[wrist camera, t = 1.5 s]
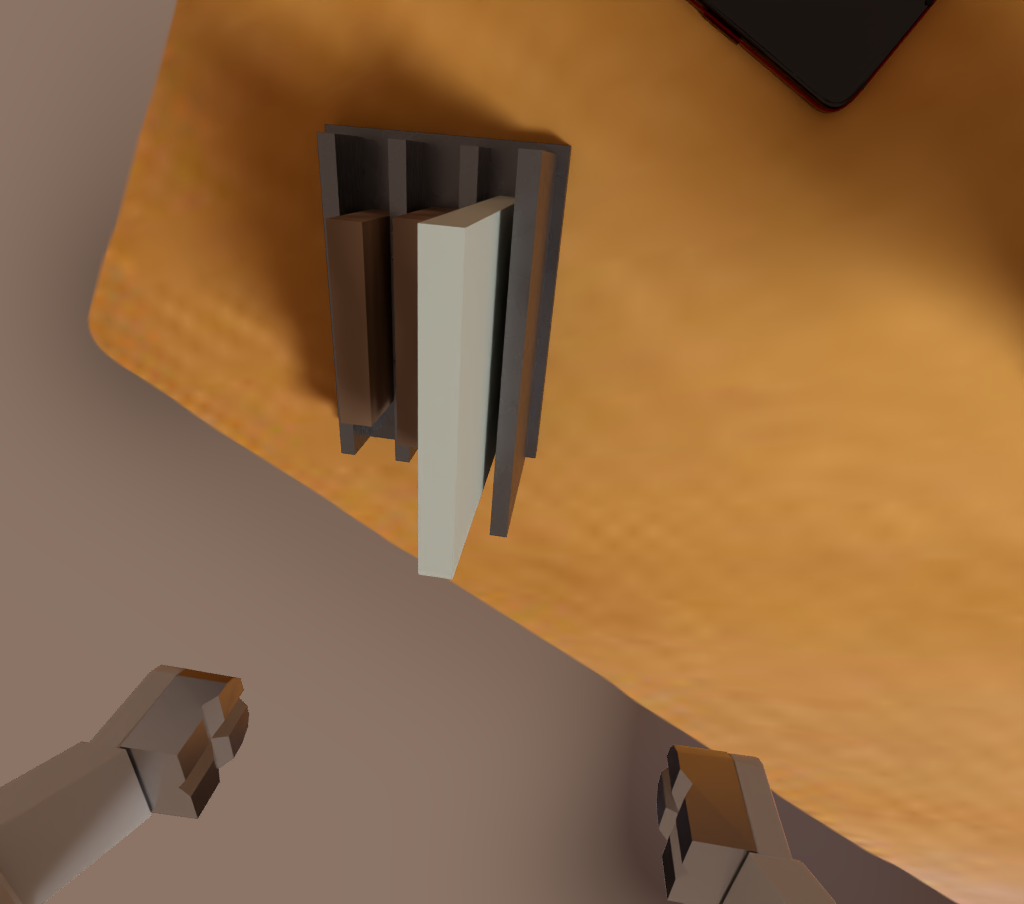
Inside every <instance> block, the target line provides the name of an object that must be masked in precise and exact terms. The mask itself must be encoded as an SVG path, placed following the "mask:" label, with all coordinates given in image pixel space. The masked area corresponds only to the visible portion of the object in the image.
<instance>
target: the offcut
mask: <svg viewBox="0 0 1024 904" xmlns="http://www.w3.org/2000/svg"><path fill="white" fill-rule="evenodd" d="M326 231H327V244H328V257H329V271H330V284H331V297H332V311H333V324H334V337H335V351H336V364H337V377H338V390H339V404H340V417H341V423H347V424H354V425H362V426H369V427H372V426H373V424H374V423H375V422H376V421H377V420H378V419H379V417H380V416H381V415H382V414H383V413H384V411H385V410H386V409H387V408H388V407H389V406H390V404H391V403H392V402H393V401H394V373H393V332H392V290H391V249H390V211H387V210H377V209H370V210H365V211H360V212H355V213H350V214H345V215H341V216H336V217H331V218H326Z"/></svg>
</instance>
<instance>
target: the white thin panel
mask: <svg viewBox="0 0 1024 904" xmlns="http://www.w3.org/2000/svg"><path fill="white" fill-rule="evenodd" d="M514 203H515V197H511V196H497V197H494V198H491V199H488V200H485V201H482V202H479V203H476V204H473V205H470V206H467V207H464V208H461V209H458V210H455V211H452V212H449V213H446V214H443V215H440V216H437V217H434V218H431V219H428V220H425V221H422V222H419V223H418V574H421V575H428V576H434V577H440V578H447V579H453V576H454V573H455V570H456V567H457V564H458V562H459V559H460V556H461V553H462V550H463V547H464V544H465V541H466V538H467V535H468V532H469V529H470V526H471V523H472V520H473V518H474V515H475V512H476V509H477V506H478V503H479V500H480V497H481V494H482V491H483V488H484V485H485V482H486V479H487V477H488V474H489V471H490V468H491V465H492V462H493V459H494V456H495V453H496V445H497V431H498V418H499V404H500V391H501V377H502V364H503V351H504V337H505V324H506V310H507V297H508V283H509V270H510V257H511V243H512V230H513V216H514Z"/></svg>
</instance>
